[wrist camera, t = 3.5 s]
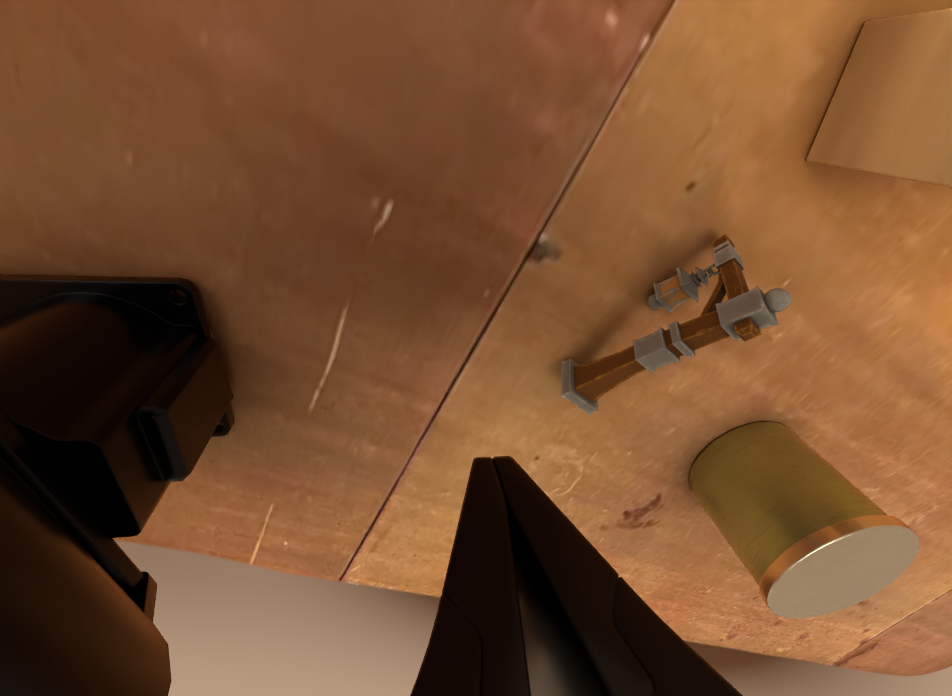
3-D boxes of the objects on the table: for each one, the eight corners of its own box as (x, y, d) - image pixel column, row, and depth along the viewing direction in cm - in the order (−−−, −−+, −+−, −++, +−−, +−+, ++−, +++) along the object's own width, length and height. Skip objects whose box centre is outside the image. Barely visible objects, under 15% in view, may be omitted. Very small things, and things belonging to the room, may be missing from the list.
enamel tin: (669, 507, 25) (744, 626, 19) (708, 419, 21) (812, 533, 16) (768, 500, 26) (867, 611, 20) (820, 416, 22) (953, 521, 17)
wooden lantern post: (766, 239, 16) (813, 330, 13) (587, 338, 21) (591, 419, 18) (741, 207, 15) (785, 296, 12) (562, 318, 20) (561, 400, 17)
